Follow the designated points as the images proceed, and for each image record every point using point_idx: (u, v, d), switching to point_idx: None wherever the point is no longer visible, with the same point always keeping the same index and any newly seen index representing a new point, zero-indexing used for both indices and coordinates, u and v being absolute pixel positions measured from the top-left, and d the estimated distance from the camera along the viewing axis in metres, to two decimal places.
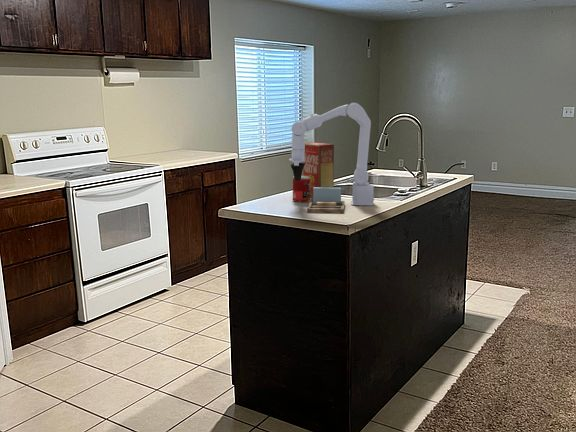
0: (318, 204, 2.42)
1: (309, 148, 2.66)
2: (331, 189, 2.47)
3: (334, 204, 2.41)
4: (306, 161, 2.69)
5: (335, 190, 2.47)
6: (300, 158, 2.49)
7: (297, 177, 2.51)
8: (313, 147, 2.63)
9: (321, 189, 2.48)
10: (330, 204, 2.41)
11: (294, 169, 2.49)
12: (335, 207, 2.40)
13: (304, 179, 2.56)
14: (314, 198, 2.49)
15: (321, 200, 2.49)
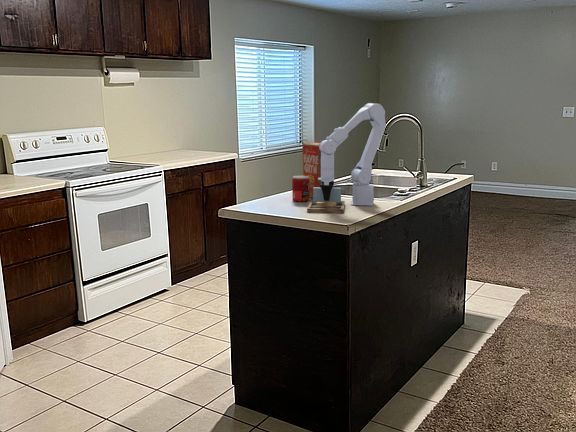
0: (318, 204, 2.42)
1: (309, 148, 2.66)
2: None
3: (334, 204, 2.41)
4: (306, 161, 2.69)
5: (335, 190, 2.47)
6: (330, 177, 2.45)
7: (327, 197, 2.45)
8: (313, 147, 2.63)
9: (321, 189, 2.48)
10: (330, 204, 2.41)
11: (323, 189, 2.44)
12: (335, 207, 2.40)
13: (303, 179, 2.56)
14: (314, 198, 2.49)
15: (321, 200, 2.49)
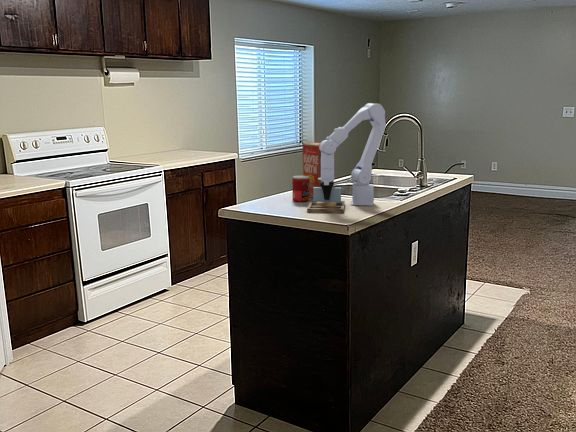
0: (318, 204, 2.42)
1: (309, 148, 2.66)
2: None
3: (334, 204, 2.41)
4: (306, 161, 2.69)
5: (335, 190, 2.47)
6: (330, 177, 2.45)
7: (327, 196, 2.47)
8: (313, 147, 2.63)
9: (321, 189, 2.48)
10: (330, 204, 2.41)
11: (324, 188, 2.46)
12: (335, 207, 2.40)
13: (303, 179, 2.56)
14: (314, 198, 2.49)
15: (321, 200, 2.49)
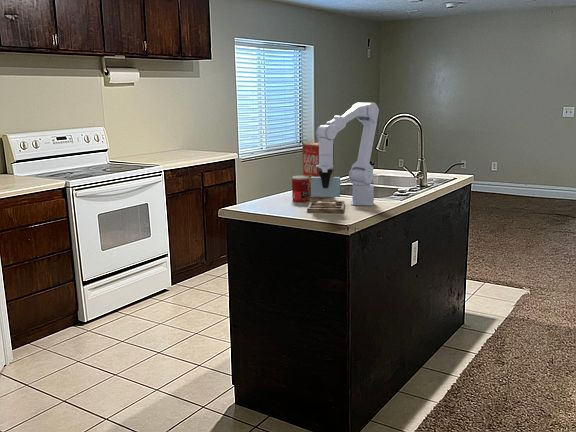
0: (318, 204, 2.43)
1: (309, 148, 2.66)
2: (330, 178, 2.35)
3: (333, 204, 2.41)
4: (306, 161, 2.69)
5: (334, 180, 2.35)
6: (328, 164, 2.32)
7: (325, 184, 2.35)
8: (313, 147, 2.63)
9: (319, 178, 2.35)
10: (329, 204, 2.41)
11: (322, 176, 2.33)
12: (335, 207, 2.40)
13: (302, 179, 2.56)
14: (312, 188, 2.36)
15: (319, 190, 2.36)
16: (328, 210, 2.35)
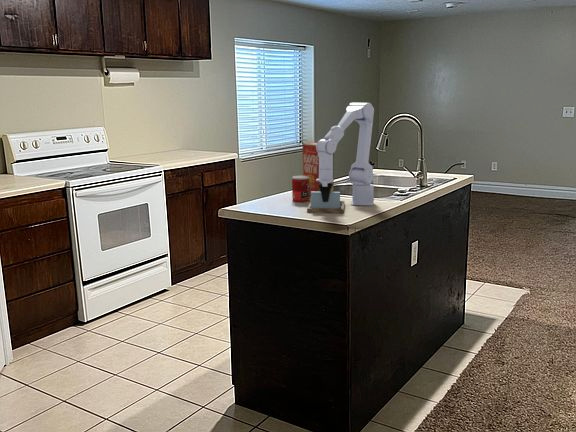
0: None
1: (309, 148, 2.66)
2: None
3: None
4: (306, 161, 2.69)
5: (334, 194, 2.35)
6: (328, 178, 2.33)
7: (325, 198, 2.35)
8: (313, 147, 2.63)
9: (319, 193, 2.36)
10: None
11: (322, 190, 2.34)
12: None
13: (302, 179, 2.56)
14: (312, 203, 2.37)
15: (319, 205, 2.37)
16: (328, 210, 2.35)
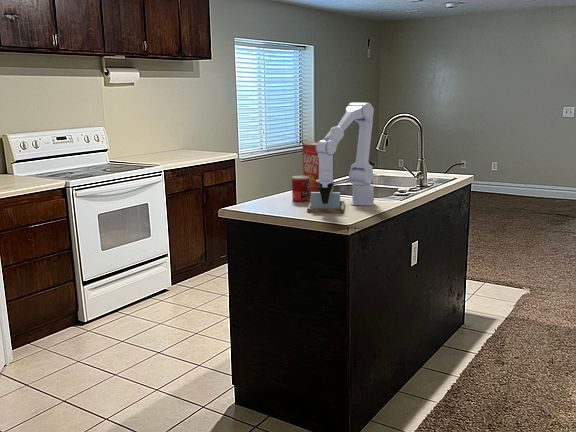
0: None
1: (309, 148, 2.66)
2: None
3: None
4: (306, 161, 2.69)
5: (334, 195, 2.36)
6: (328, 179, 2.33)
7: (325, 200, 2.33)
8: (313, 147, 2.63)
9: (319, 194, 2.36)
10: None
11: (322, 191, 2.32)
12: None
13: (302, 179, 2.56)
14: (312, 203, 2.37)
15: (319, 205, 2.37)
16: (328, 210, 2.35)
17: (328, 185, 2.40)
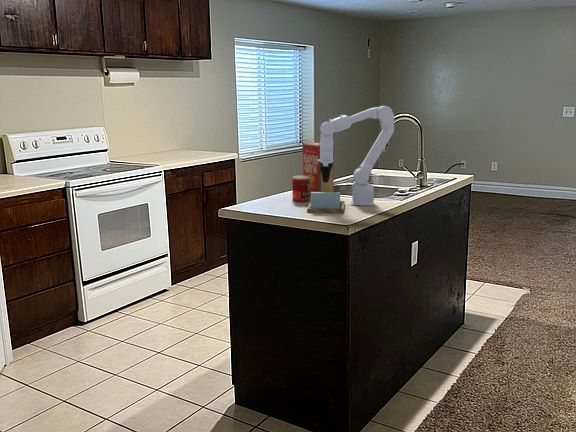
0: None
1: (309, 148, 2.66)
2: (329, 193, 2.36)
3: None
4: (306, 161, 2.69)
5: (334, 195, 2.35)
6: (329, 159, 2.47)
7: (326, 178, 2.47)
8: (313, 147, 2.63)
9: (319, 194, 2.36)
10: None
11: (323, 170, 2.46)
12: None
13: (302, 179, 2.56)
14: (312, 203, 2.37)
15: (319, 205, 2.37)
16: (328, 210, 2.35)
17: (328, 165, 2.54)
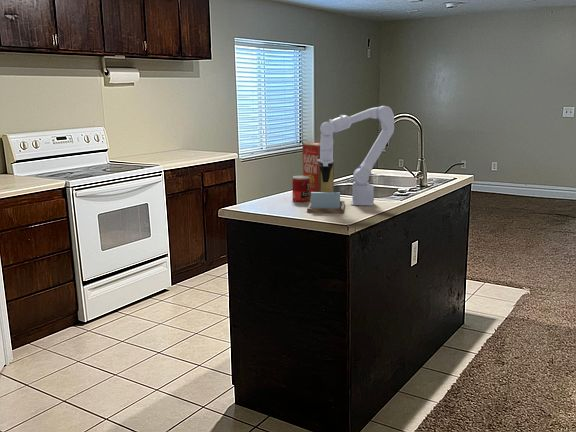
0: None
1: (309, 148, 2.66)
2: (329, 193, 2.36)
3: None
4: (306, 161, 2.69)
5: (334, 195, 2.35)
6: (329, 159, 2.47)
7: (326, 178, 2.47)
8: (313, 147, 2.63)
9: (319, 194, 2.36)
10: None
11: (323, 170, 2.46)
12: None
13: (302, 179, 2.56)
14: (312, 203, 2.37)
15: (319, 205, 2.37)
16: (328, 210, 2.35)
17: (328, 165, 2.54)
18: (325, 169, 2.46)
